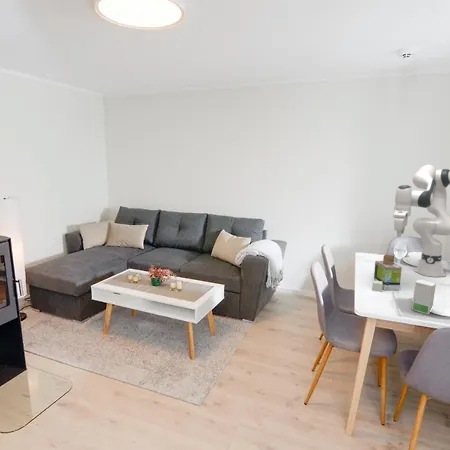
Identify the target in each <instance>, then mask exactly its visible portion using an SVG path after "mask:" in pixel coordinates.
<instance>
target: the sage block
mask: <svg viewBox="0 0 450 450" xmlns="http://www.w3.org/2000/svg"><path fill="white" fill-rule="evenodd" d="M372 282H373V283H372V291H373V292H381V293H382V292H383V289H382V286H383V283H382V281H374V279H373V281H372Z"/></svg>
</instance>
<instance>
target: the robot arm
mask: <svg viewBox="0 0 450 450" xmlns="http://www.w3.org/2000/svg"><path fill="white" fill-rule="evenodd" d="M412 184H413V185H414V186H415V187H416V188H418V189H421V190H414V189H413V188H412V186H411V185H409V184H408V185H407V184H405V185H404V184H403V185H400V186H398V187H397V188H396V192H395V198H394V199H395V200H394V202H395V203H394V209H393V218H394V219H393V227H394V228H393V229H394V230H395V231H396V237H398V238H401V235H404V233H405V227H407V225H408V220H409V219H408V218H409V217H411V213H412V207H416V208H417V207H418V208H419V207H420V208H422V209H423V208H425V209H426V210H427V211H428V212H429V213H430V214H432V215H434V216H435V218H433V217H430V218H429V217H420V218H419V217H418V218H416V219H415V220H414V221H413V222H412V228H413V230H414V231H415V232H416V233H417V234H418V235H419V236H420V238H421V240H422V253H421V255H420V256H421V257H420V259H419V260H418V262H417V268H415V269H414V271H413V272H415V273H417V274H419V275H422V276H426V277H433V278H434V277H435V278H438V277H446V273H445V271H444V263H443V262H442V260H443V257H442V252H443V251H442V250H443V243H442V242H441V241H440V240H437V239H436V238H434V237H433V235H434V236H435V235H436V236H438V235H439V236H450V216H449V214H448V211H447V197H448V196H447V195H448V194H447V187H448V186H449V185H450V169H448V168H443V169H436V167H435V166H434V165H433V164H424V165H422V166H421V167H420V168H419V169H417V171H416V172H415V173H414V174H413V176H412Z"/></svg>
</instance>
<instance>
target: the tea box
mask: <svg viewBox="0 0 450 450" xmlns="http://www.w3.org/2000/svg"><path fill="white" fill-rule="evenodd" d="M402 269H403V268H402V266H400V265H398V264H397V263H395V262H394V264H393V265H387V264H383V260H375V262H374V273H373V280H374V281H382V283H383V286H382V291H400V289H401V281H402V280H401V279H402Z"/></svg>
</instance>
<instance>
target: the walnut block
mask: <svg viewBox="0 0 450 450" xmlns="http://www.w3.org/2000/svg"><path fill="white" fill-rule="evenodd" d="M382 261H383V264H387V265H393V264H394V263H395V255H393V254H384V255H383V260H382Z"/></svg>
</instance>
